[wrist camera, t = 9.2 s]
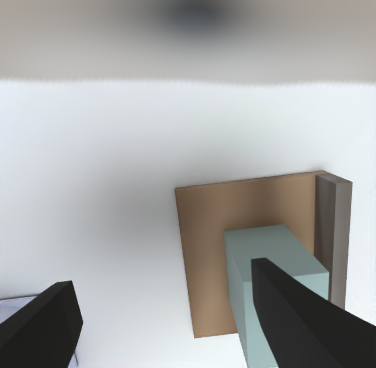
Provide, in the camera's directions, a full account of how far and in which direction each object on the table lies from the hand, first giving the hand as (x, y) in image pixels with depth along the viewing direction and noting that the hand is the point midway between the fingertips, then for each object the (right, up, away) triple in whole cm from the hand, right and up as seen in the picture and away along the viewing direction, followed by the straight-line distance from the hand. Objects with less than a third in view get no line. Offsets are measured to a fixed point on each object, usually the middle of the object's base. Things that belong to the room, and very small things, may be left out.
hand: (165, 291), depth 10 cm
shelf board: (+6, -2, +10) cm, 12 cm away
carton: (+6, -2, +10) cm, 12 cm away
